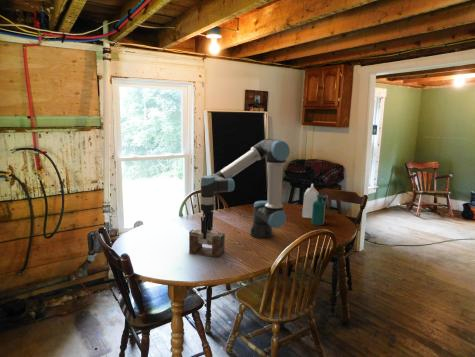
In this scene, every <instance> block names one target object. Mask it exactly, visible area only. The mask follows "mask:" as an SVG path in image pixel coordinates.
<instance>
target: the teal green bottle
mask: <svg viewBox="0 0 475 357" xmlns="http://www.w3.org/2000/svg"><path fill="white" fill-rule="evenodd" d="M316 196H317V200H316V201H314V203H313V210H312V218H311V225H314V226H320V225H322V226H323V225H324V223H325V217H326V216H325V213H326V204H327V202H328V198H329V195H327V194H326V195H321V194H319V195H316ZM323 199H325V200H323Z"/></svg>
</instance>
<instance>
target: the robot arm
mask: <svg viewBox="0 0 475 357" xmlns="http://www.w3.org/2000/svg"><path fill="white" fill-rule="evenodd" d="M290 152H291V149H290V147H289V144H288V143H287V142H286V141H285V140H284V141H283V140H281V139H274V138H265V139H263V140H261V141H259V142H258V143H256V144H255V145H253V146H251V147H250V150H248V151H247V152H245V153H244V154H242V155H241V156H239V157H238V158H237V159H235V160H234V161H232V162H231V163H229V164H228V165H227V166H224V167H223V168H222V169H221V170H219V171H217V172H216V173H210V174H209V175H202V177H201V179H200V197H199V198H200V211H202V216H200V230H201V233H203V244H202V245H207V244H208V233H207V232H211V233H212V231H213V227H214V226H213V224H214V210H215V204H214V203H215V193H229V192H230V193H231V192H233V191H234V190H235V187H236V183H235V180H234V179H233V177H235V176H236V175H238V174H239V173H240V172H242V171H244V170H245V169H246V168H248V167H249V166H251V165H252V164H253V163H255V162H256V161H261V160H262V159H265V158H266V159H265V160H266V163H267V165H268V174H267V176H268V177H267V200H257V201H255V202H254V203H253V218H252V219H253V221H252V222H253V223H252V225H251V228H250V232H249V233H250V236H251V237H253V238H257V239H269V238H272V237H273V235H274V232H273V229H279V228H281V227H283V225H285V223H286V221H287V214H286V212H285V211H284V205H283V204H282V190H283V173H284V171H283V169H284V168H283V167H284V165H285V164H286V161H287V159H288V158H289V156H290V154H291V153H290Z"/></svg>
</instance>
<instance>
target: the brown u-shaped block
mask: <svg viewBox="0 0 475 357" xmlns="http://www.w3.org/2000/svg"><path fill="white" fill-rule="evenodd" d="M196 230H197V231H201V229H196ZM217 233H218V234H224V233H222V232H217ZM188 241H189V243H188V244H189V245H188V248H189V250H188V253H189V254H192V255H197V256H203V257H210V258H217V259H219V258H220V257H221V256H222V255H223V254H224V253H225V241H226V240H224V245H223V246H222V247H220V238H215V237H213V238H212V245H211V247H205V246H203V244H200V243H197V235H194V234H190V235H189V237H188Z"/></svg>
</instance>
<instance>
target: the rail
mask: <svg viewBox="0 0 475 357" xmlns="http://www.w3.org/2000/svg"><path fill="white" fill-rule="evenodd" d="M197 230H198V229H191V230H190V231H189V232H188V234H189V235H190V234H194V235H197V243H200V244H202V245H204V244H203V233H201V231H197ZM207 233H208V244H206V246H207V245H208V246H212V238H213V237H215V238H220V247H222V246H223V245H224V246H225V243H224V240H225V236H226V235H225V234H226V233H223V234H218V233H219V232H217V233H215V232H212V231H211V232H207ZM225 241H226V240H225Z"/></svg>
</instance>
